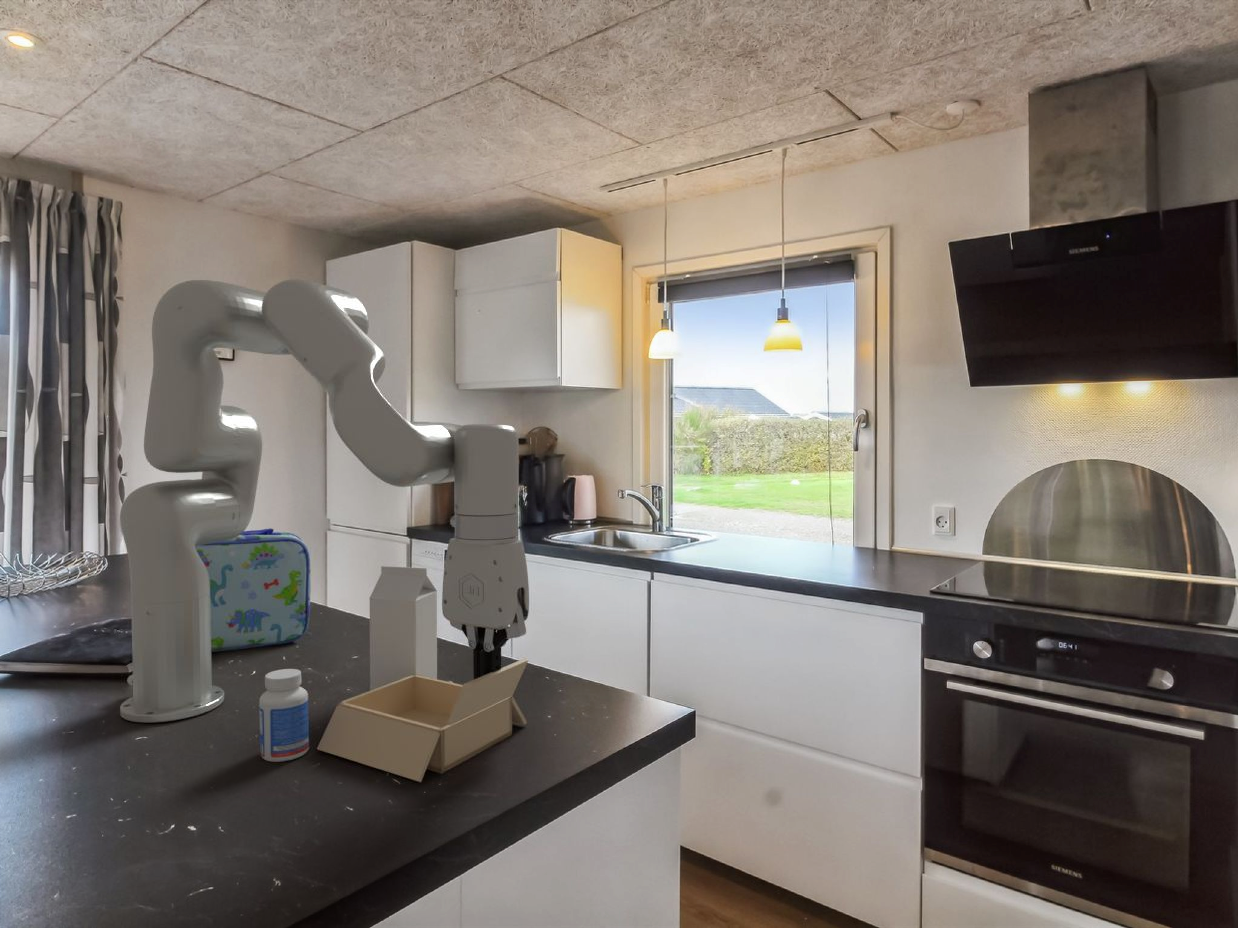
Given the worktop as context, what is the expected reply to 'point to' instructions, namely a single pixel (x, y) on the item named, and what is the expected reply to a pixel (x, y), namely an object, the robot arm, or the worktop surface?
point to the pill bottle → (283, 717)
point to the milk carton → (402, 626)
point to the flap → (487, 691)
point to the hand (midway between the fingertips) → (487, 680)
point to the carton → (414, 727)
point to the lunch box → (257, 589)
